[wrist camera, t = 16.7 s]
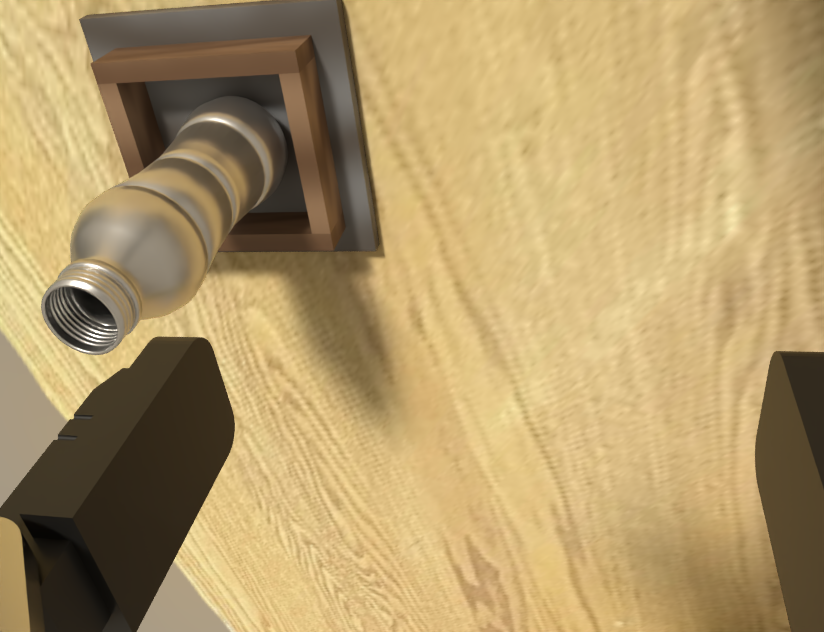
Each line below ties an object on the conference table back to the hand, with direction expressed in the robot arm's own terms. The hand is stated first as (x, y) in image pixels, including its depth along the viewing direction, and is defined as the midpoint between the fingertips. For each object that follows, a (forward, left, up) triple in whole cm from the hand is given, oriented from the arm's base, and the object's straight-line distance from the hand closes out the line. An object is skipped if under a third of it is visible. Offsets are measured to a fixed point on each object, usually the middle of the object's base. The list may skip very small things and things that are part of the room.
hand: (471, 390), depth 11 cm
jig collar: (+10, -20, -36) cm, 42 cm away
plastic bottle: (+10, -19, -35) cm, 41 cm away
